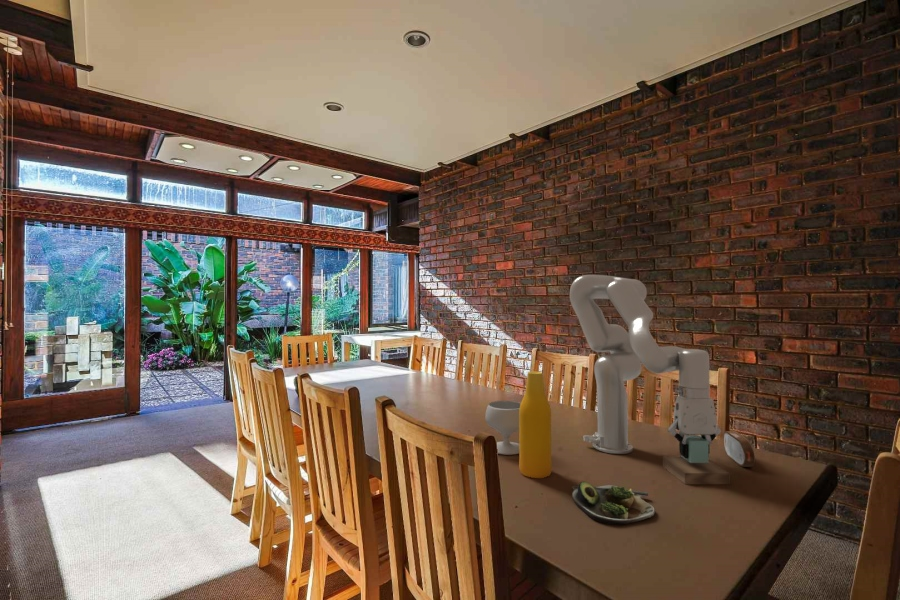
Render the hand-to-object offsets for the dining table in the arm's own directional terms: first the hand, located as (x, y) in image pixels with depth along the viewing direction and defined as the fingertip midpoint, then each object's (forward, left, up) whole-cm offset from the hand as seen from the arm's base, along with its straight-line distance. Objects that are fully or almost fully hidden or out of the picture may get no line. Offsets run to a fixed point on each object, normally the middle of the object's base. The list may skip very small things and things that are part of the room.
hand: (694, 455), depth 120 cm
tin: (+19, +10, -6) cm, 22 cm away
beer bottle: (-45, +2, -6) cm, 45 cm away
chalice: (-51, +21, -6) cm, 55 cm away
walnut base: (0, 0, -5) cm, 5 cm away
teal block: (0, 0, -1) cm, 1 cm away
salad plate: (-31, -18, -6) cm, 36 cm away
